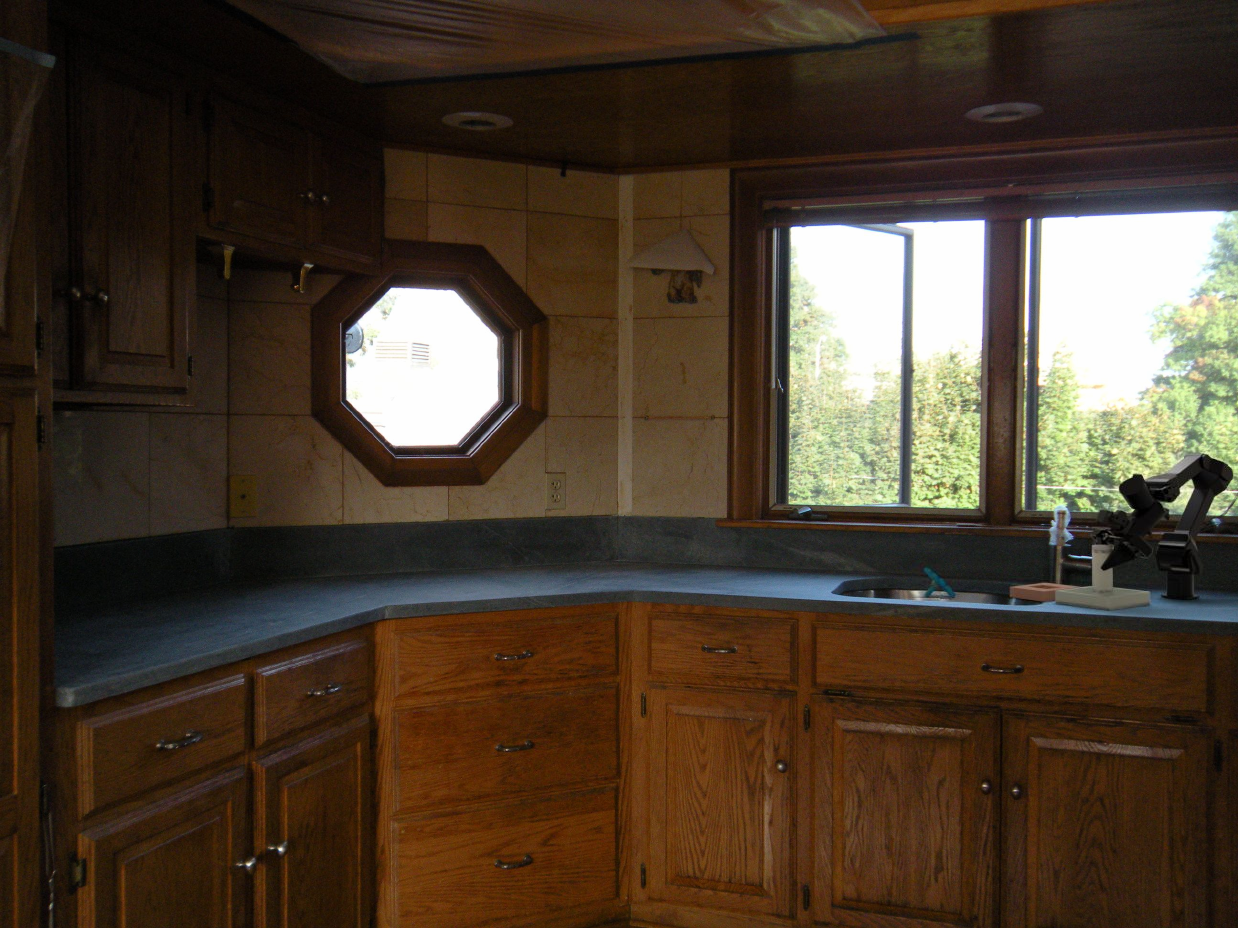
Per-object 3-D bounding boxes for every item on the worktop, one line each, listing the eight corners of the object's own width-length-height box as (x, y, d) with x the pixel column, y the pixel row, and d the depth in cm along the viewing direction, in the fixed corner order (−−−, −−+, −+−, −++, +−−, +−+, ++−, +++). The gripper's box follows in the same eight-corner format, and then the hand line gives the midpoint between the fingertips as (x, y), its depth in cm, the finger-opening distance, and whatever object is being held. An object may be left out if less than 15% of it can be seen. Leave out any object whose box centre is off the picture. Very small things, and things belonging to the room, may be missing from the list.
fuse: (1099, 593, 250) (1099, 544, 250) (1116, 595, 247) (1116, 545, 246) (1088, 595, 248) (1088, 545, 248) (1105, 597, 244) (1105, 546, 244)
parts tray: (1096, 597, 258) (1096, 585, 257) (1150, 604, 246) (1150, 591, 246) (1055, 603, 249) (1055, 590, 249) (1109, 610, 237) (1109, 597, 237)
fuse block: (1045, 592, 268) (1045, 582, 268) (1080, 596, 259) (1080, 586, 259) (1009, 596, 260) (1009, 586, 260) (1044, 601, 252) (1044, 591, 252)
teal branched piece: (960, 593, 256) (930, 564, 258) (943, 610, 256) (913, 581, 258) (954, 593, 266) (925, 565, 269) (937, 609, 267) (908, 581, 269)
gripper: (1097, 496, 257) (1054, 541, 256) (1139, 499, 238) (1093, 548, 237) (1128, 527, 257) (1085, 572, 257) (1173, 533, 239) (1127, 582, 238)
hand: (1096, 568), depth 247 cm, fingers closed on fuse, 4 cm apart
